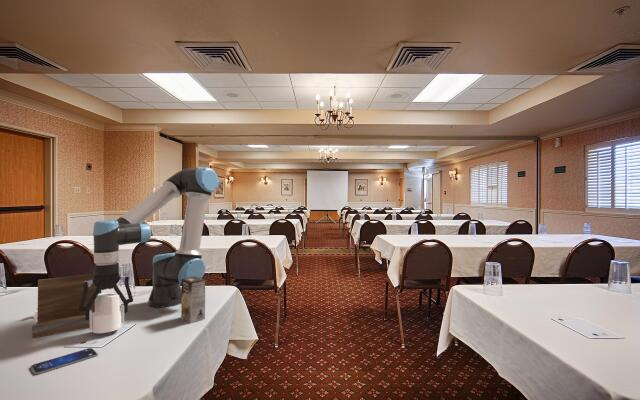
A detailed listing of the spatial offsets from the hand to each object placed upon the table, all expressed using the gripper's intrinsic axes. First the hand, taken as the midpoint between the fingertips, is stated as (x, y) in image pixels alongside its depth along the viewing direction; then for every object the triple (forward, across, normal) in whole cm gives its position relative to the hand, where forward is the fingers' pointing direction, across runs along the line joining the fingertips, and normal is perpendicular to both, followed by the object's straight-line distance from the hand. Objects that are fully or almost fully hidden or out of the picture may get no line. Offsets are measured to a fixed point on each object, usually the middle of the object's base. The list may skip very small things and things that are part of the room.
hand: (107, 325), depth 115 cm
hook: (+3, -21, +37) cm, 42 cm away
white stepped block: (+1, 0, 0) cm, 1 cm away
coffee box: (+3, +29, -3) cm, 29 cm away
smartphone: (+3, -11, -18) cm, 21 cm away
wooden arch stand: (+3, -12, +17) cm, 20 cm away
